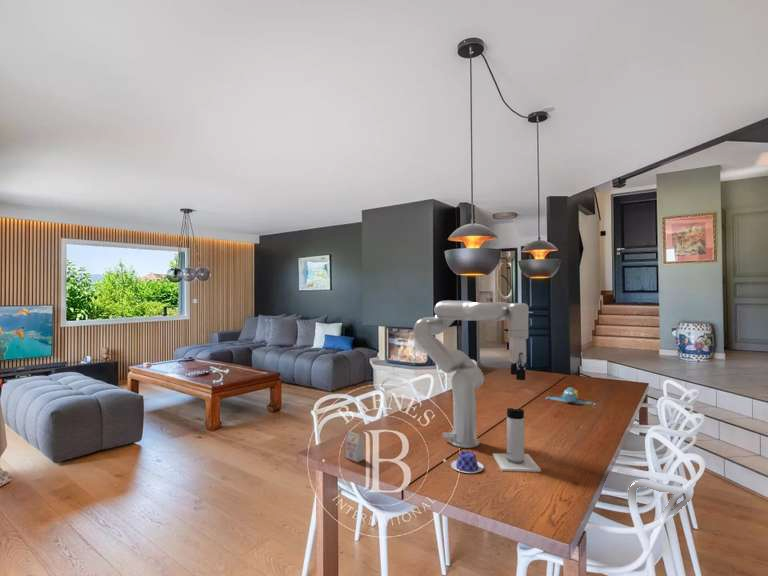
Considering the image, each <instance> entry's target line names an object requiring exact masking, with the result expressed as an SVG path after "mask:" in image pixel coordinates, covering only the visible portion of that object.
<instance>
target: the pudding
mask: <svg viewBox="0 0 768 576" xmlns="http://www.w3.org/2000/svg"><path fill="white" fill-rule="evenodd" d="M450 467H451V468H452V469H454V470H455V471H458V472H460V473H466V474H475V473H480V472H482V471H483V470H484V465H483V464H482V463H481V462H479V461H477V456H476V454H475V453H474V452H472V451H469V450H466V451H465V450H463V451H461V452H459V453H458V457H457V459H456V460H453V461H452V462H451V463H450ZM460 469H461V470H462V471H460Z"/></svg>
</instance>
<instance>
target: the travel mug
mask: <svg viewBox="0 0 768 576" xmlns="http://www.w3.org/2000/svg"><path fill="white" fill-rule="evenodd" d="M506 454H507V460H508V461H509V462H511V463H515V464H521V463H523V462H524V454H525V410H524V409H522V408H514V407H511V408H510V407H507V408H506Z"/></svg>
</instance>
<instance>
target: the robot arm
mask: <svg viewBox="0 0 768 576" xmlns="http://www.w3.org/2000/svg"><path fill="white" fill-rule="evenodd" d="M433 309H434V310H433V311H434V314H435V315H434V316H428V317H422V318H420V319H418V320H417V321H416V322H415V323H414V326H413V336H414V340H415V342H416V344H417V345H418V346H419V348H421V349H422V350H423V352H425V353H426V354H427V355H428V357H429V358H430V359H431V360H432V362H433V363H434V364H436V366H437V367H438V368H439V369H440V370H441V371H442V372H443V373H446V374H449V373H454V372H455V373H454V374H453V375H452V378H451V380H450V381H451V389H452V399H453V404H452V405H453V412H452V413H453V417H452V418H453V429H451V431H449V432H442V438H445V439H446V440H447V439H449V443H450V444H451V445H452V446H454V447H458V448H461V449H462V448H463V449H472V448H476V447H478V446H480V440H479V438H477V426H476V425H477V423H476V421H477V413H476V412H477V405H476V404H477V400H476V395H475V389H476V388H479V387H481V386H482V384H483V383H484V380H485V377H484V374H483V372H482V370H481V369H480V367H479V366H478V365H477V364H476V363H475V362H474V361H473V360H472V359H471V358H470V357H469V356H468V355H467V354H466V353H465V352H463V351H462V350H460V349H448V347H447V346H445V345H444V343H443V342H442V341H441V340H439V339H438V338H437V337H435V336H436V335H439V334H442V333H443V332H444V331H446V330H447V329H448V327H450V326H451V325H452V324H453V323H454V322H455V321H470V322H471V321H477V322H478V321H482V322H499V321H506V320H507V321H508V329H507V330H508V331H507V332H508V333H507V334H508V335H507V337H508V338H509V347H508V361H510V375H514V376H515V375H516V378H515V379H516V380H517V381H525V380H526V363H527V339H529V311H530V310H529V305H528V304H527V303H522V302H513V303H512V302H505V301H495V302H491V301H490V302H483V301H482V302H481V301H480V302H478V301H477V302H476V301H475V302H474V301H470V300H452V299H451V300H449V299H447V300H441V301H438V302H437V303H436V304H435V305H434V308H433ZM434 335H435V336H434Z"/></svg>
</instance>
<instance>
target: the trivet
mask: <svg viewBox="0 0 768 576" xmlns="http://www.w3.org/2000/svg"><path fill="white" fill-rule="evenodd" d="M492 457H493V458H494V460H495V462H496V464H497V465H498V467H499V469H500V471H502V472H529V473H531V472H533V473H535V472H542V469H541V468H540V466H539V465H537V463H536V462H535V461H534V460H533V458H532V457H531V455H530V454H529V453H524V462H523V463H521V464H515V463H511V462H509V461H508V460H507V453H494V452H493V453H492Z"/></svg>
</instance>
